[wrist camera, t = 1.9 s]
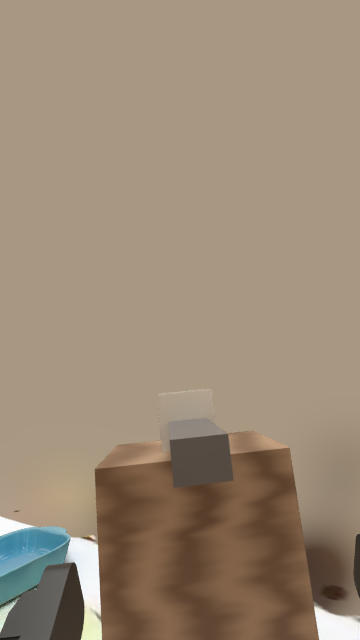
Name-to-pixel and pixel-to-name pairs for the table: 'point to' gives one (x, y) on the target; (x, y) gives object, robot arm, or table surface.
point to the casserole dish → (29, 558)
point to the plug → (194, 438)
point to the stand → (202, 548)
